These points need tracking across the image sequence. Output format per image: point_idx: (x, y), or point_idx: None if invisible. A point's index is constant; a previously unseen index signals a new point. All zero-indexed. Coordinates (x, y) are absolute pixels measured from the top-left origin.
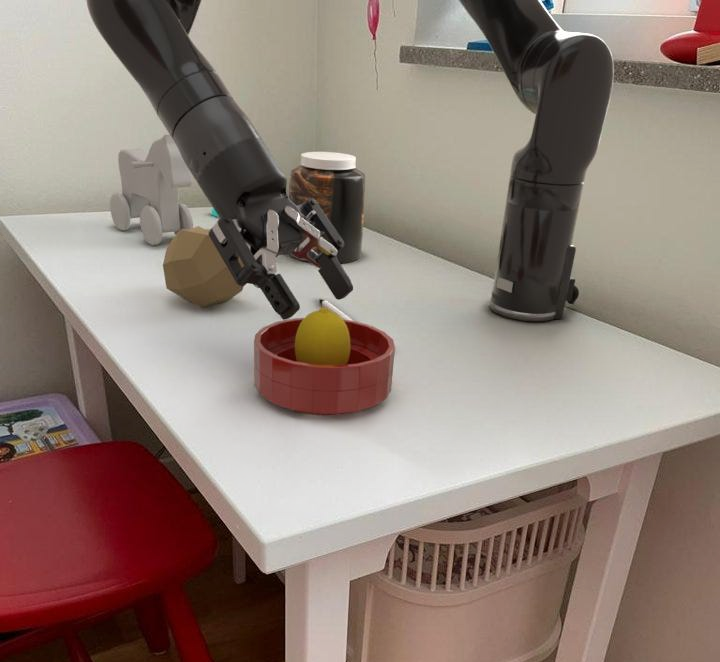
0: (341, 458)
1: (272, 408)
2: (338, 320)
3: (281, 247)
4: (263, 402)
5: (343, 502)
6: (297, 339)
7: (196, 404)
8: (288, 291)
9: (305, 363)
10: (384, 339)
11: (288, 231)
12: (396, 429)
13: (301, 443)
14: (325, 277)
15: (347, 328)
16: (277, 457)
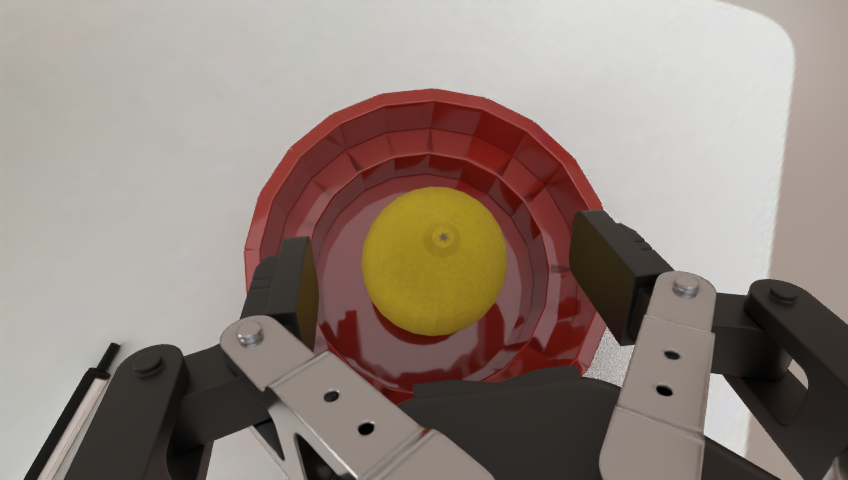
0: (587, 86)
1: None
2: (428, 197)
3: (575, 368)
4: None
5: (668, 13)
6: (500, 289)
7: None
8: (615, 234)
9: (576, 182)
10: (293, 172)
11: (487, 434)
12: (442, 86)
13: (606, 159)
14: (312, 342)
15: (391, 203)
16: (667, 153)
